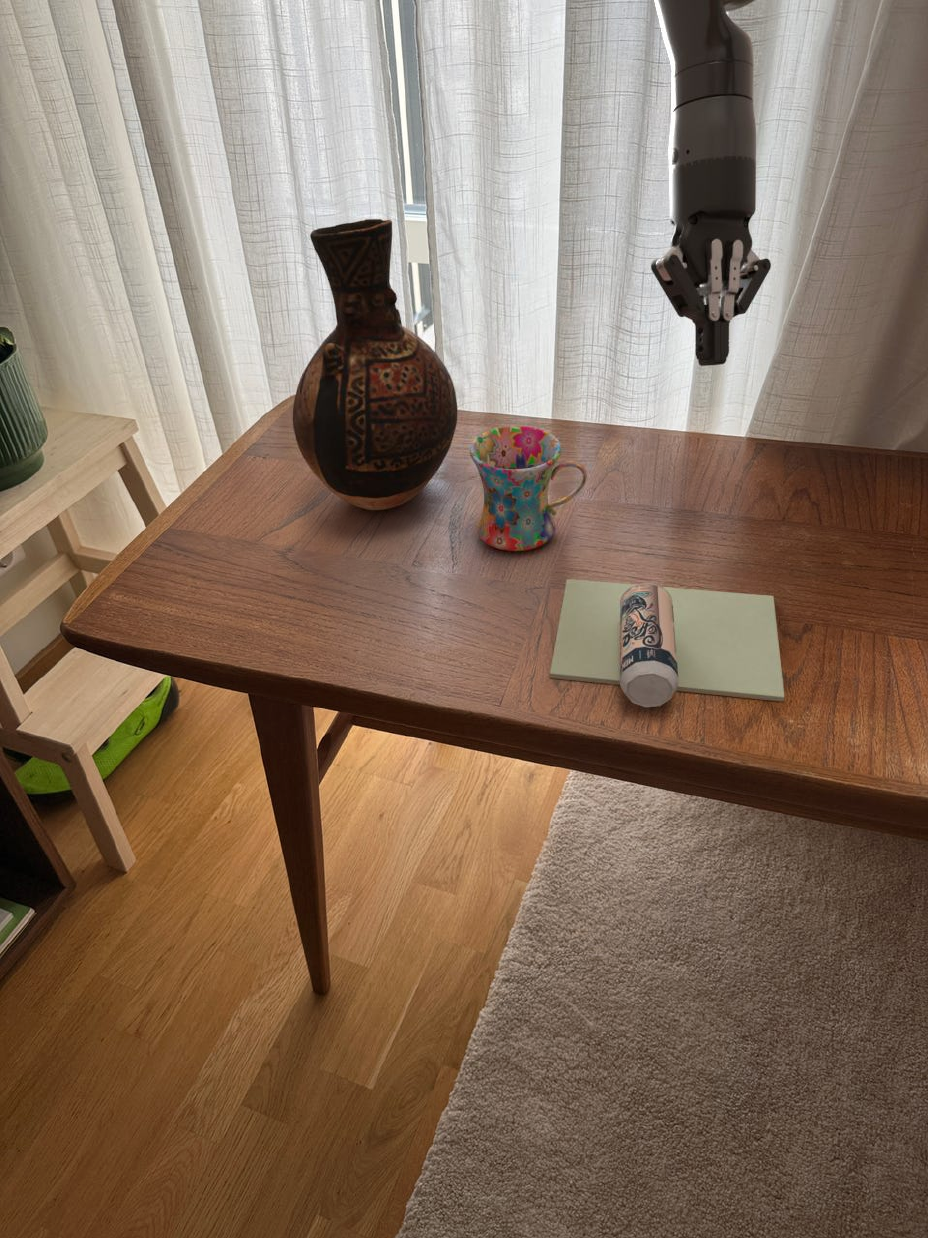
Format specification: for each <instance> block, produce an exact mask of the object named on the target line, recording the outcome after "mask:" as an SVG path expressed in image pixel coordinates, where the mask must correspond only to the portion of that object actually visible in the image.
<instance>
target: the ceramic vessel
mask: <svg viewBox="0 0 928 1238" xmlns="http://www.w3.org/2000/svg"><path fill="white" fill-rule="evenodd" d="M309 238H310V241H311V244H312V246H313V249H314V251H315V252H316V254H317V257H318V259H319V261H320V263H321V265H322V268H323V270H324V274H325V276H326V278H327V281H328V284H329V288H330V292H331V295H332V298H333V304H334V310H335V318H336V325H335V328H334V329H333V330H332V331H331V332H330V333H329V335H328V336H326V338H325V339H324V340H323V342H322V343H321V344H320V345H319V347H318V349H317V350H316V351H315V352H314V354H313V356H312V357H311V358H310V360H309V362H308V363H307V365H306V367H305V369H304V370H303V372H302V374H301V377H300V380H299V382H298V384H297V387H296V391H295V395H294V398H293V399H294V400H293V407H292V427H293V432H294V437H295V441H296V443H297V444H296V445H297V447H298V450H299V451H300V453H301V456H302V457H303V459H304V461H305V462H306V464H307V465H308V467H309V469H310V470H311V472H312V473H313V474H314V475H315V476H316V477H317V478H318V479H319V481H321V483H322V484H323V485H324V486H325V487H326V488H327V490H329V491H330V492H332V494H334V495H336V497H338V498H340V499H341V500H343V501H345V502H347V503H348V504H350V505H352V506H354V507H357V508H361V509H364V510H367V511H382V510H389V509H392V508H395V507H398V506H402V505H404V504H405V503H407V502H409V501H410V500H412V499H413V498H415V497H416V496H417V495H418V494H420V492H421V491H422V490H423V489H424V488H425V487H426V486H427V485H428V483H429V482H430V481H431V480H432V479H433V477H434V476H435V474H436V473H437V472H438V470H439V469H440V467H441V466H442V465H443V463H444V460H445V458H446V456H447V454H448V452H449V450H450V449H451V446H452V442H453V439H454V436H455V432H456V428H457V424H458V400H457V393H456V392H457V391H456V389H455V385H454V382H453V379H452V377H451V374H450V372H449V371H448V369H447V366H446V364H444V363H443V361H442V360H441V358H440V356H439V355H438V353H437V352H436V351H434V349H433V348H432V347H431V345H429V344H428V343H427V342H426V341H425V340H423V339H422V338H421V337H420V336H418V335H417V334H416V333H414V332H413V331H411V330H410V329H409V328H407V327H406V326H404V325H403V323H402V318H401V313H400V311H399V309H398V308H397V306H396V303H397V301H398V296H397V293H396V292H395V291H394V289H393V288H392V285H391V281H390V277H391V275H390V274H391V259H392V256H391V255H392V244H393V221H392V220H391V219H386V220H383V219H381V218H368V219H364V220H358V221H353V222H345V223H340V224H336V225H334V226H327V227H319V228H317V229H313V230H312V231H311V233H310V234H309Z"/></svg>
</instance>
